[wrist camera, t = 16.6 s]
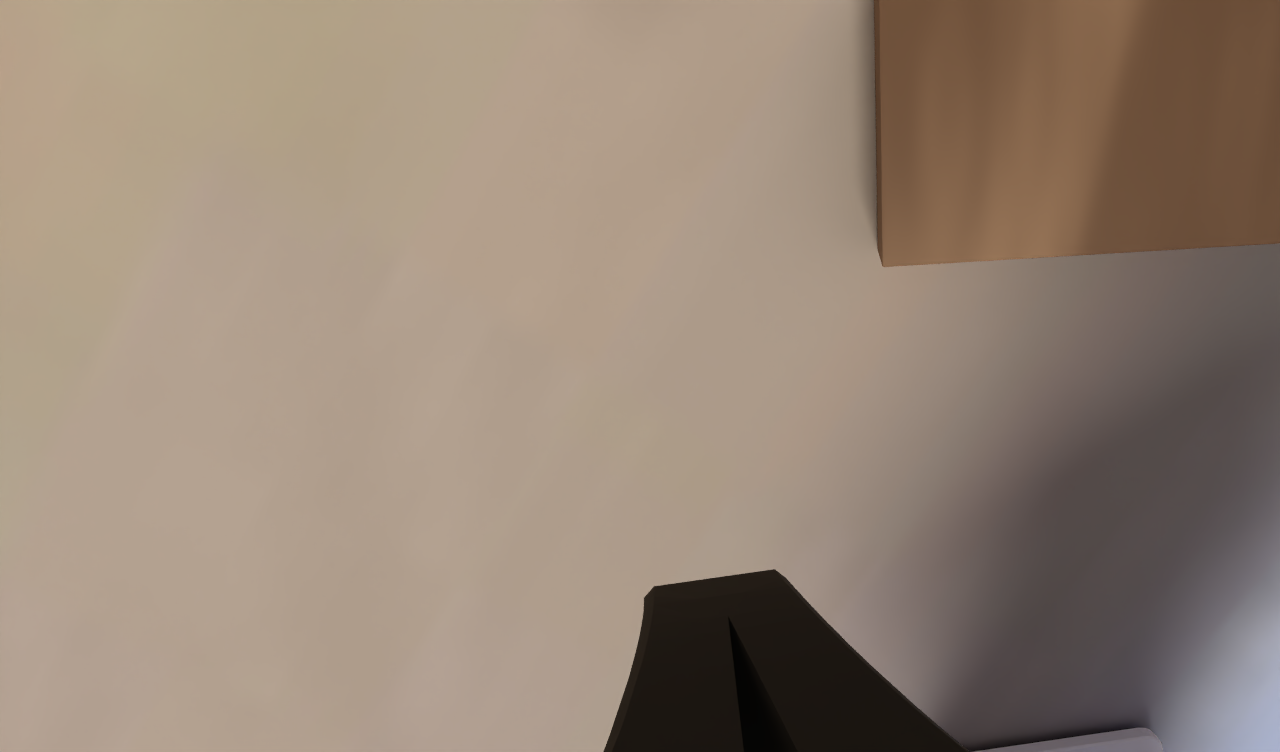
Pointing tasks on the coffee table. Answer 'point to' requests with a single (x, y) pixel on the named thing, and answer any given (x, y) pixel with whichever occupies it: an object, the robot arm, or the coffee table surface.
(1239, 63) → the domino
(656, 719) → the robot arm
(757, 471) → the coffee table surface
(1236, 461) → the coffee table surface
